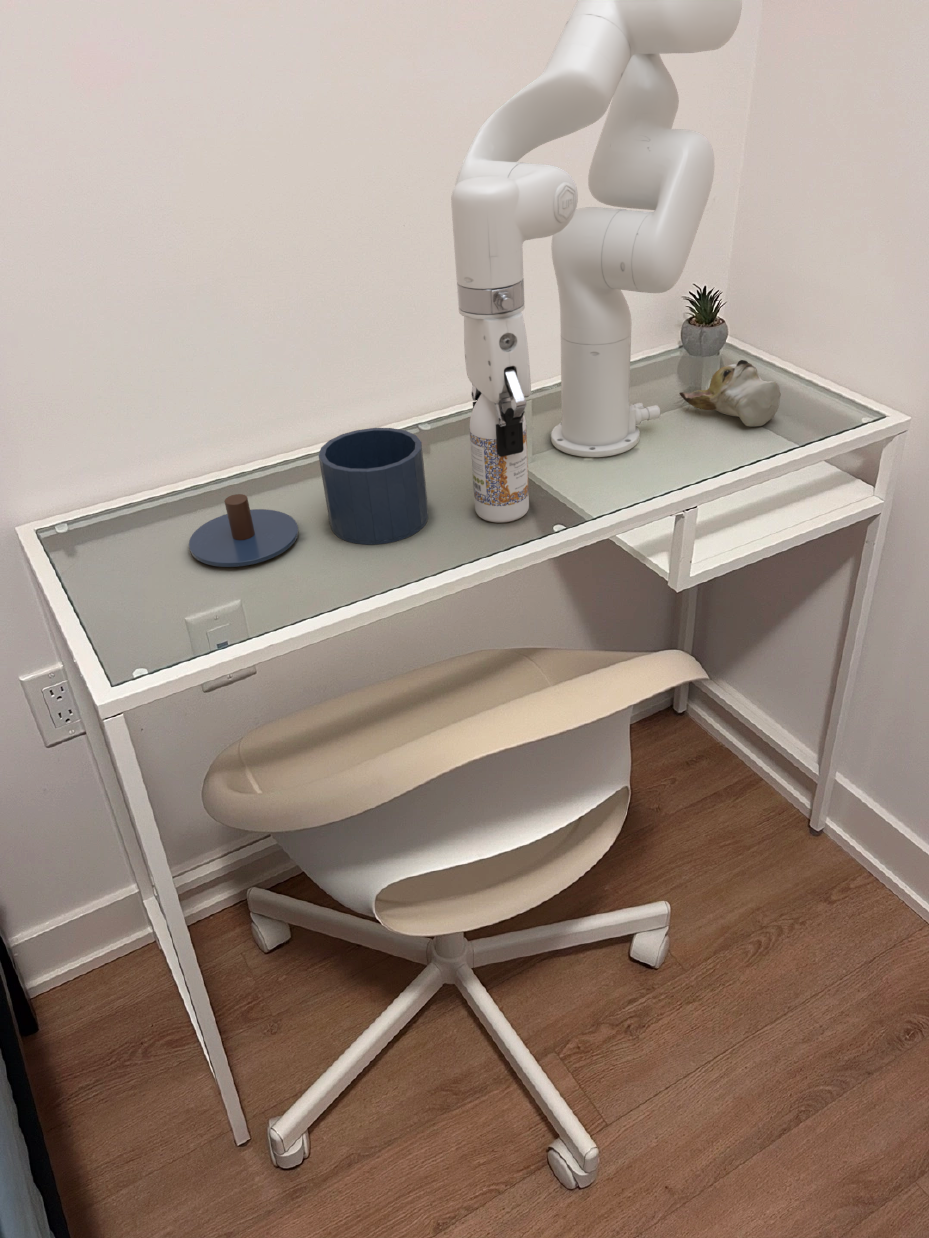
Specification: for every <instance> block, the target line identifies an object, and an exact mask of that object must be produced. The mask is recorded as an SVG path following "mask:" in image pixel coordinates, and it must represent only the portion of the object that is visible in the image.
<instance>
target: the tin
mask: <svg viewBox="0 0 929 1238" xmlns="http://www.w3.org/2000/svg"><path fill="white" fill-rule="evenodd" d="M423 452H424V451H423V442H422V440H421V439H420V438H419V437H418V436H417V435H416V434H414V433H412V432H411V431H408V430H404V429H399V428H394V427H370V428H363V429H356V430H352V431H349V432H345V433H342V434H339V435H338V436H335V437H333V438H331V439H329V440H328V441H327V442H326V443H325V444H324V445H322V446H321V447H320V449H319V453H318V461H319V466H320V473H321V479H322V485H323V486H322V487H323V491H324V497H325V504H326V509H327V516H328V522H329V525H330V529H331V531H332V533H333V534H334V535H335V536H336V537H338V538H339V539H341V540H343V541H345V542H348V543H352V544H357V545H369V546H373V545H374V546H375V545H384V544H389V543H395V542H399V541H402V540H404V539H407V538H409V537H411V536H413V535H415V534H417V533H419V531H421V530H422V529H423V528H424V527H425V526H426V524H427V523H428V520H429V504H428V492H427V482H426V481H427V480H426V473H425V462H424V461H425V460H424V454H423Z"/></svg>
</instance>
